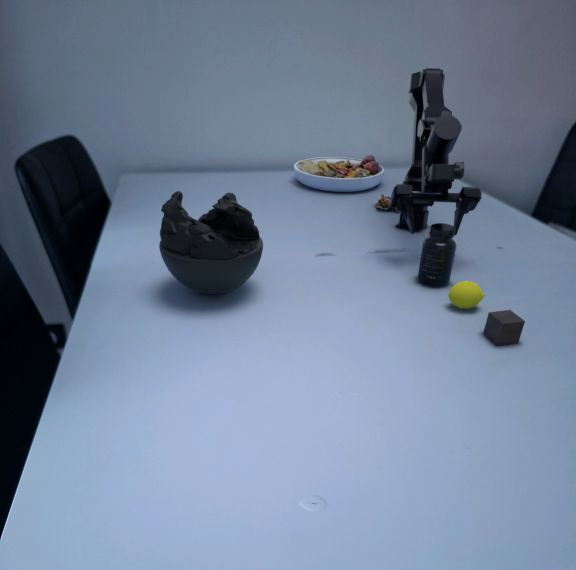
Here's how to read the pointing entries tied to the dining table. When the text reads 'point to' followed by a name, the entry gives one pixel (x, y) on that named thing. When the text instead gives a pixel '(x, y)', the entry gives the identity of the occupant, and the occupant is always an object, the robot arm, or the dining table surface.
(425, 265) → the supplement bottle
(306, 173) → the bowl
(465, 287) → the lemon
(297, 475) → the dining table surface
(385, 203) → the brown mottled lump
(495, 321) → the walnut block
